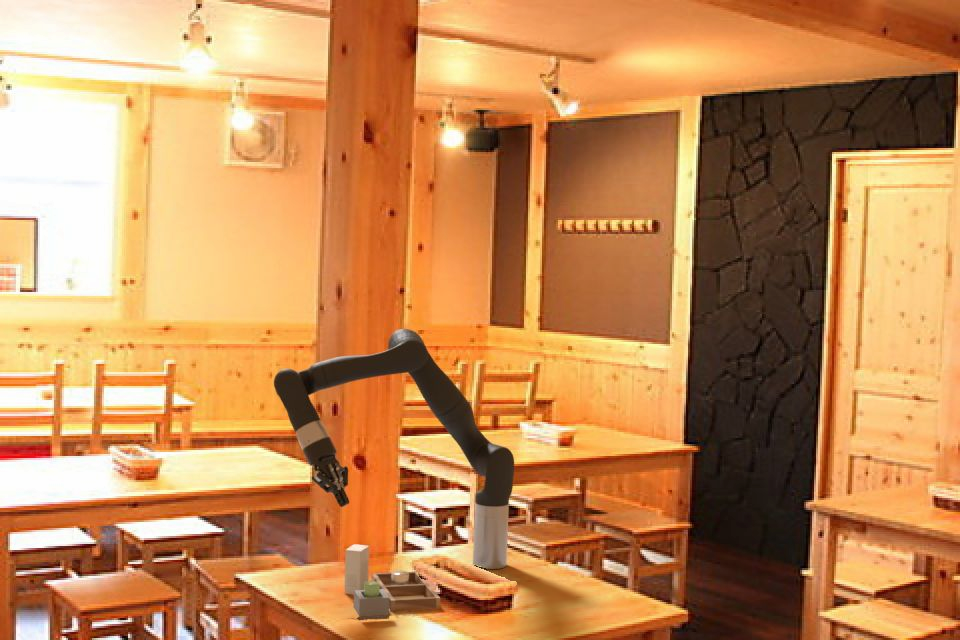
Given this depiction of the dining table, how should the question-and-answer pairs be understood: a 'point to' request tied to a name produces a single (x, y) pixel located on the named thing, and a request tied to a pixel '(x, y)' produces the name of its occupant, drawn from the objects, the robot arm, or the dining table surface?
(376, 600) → the grey square open box
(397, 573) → the beige rounded cylinder
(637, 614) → the dining table surface
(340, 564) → the dining table surface
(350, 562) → the skincare box
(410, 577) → the tray
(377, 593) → the button
